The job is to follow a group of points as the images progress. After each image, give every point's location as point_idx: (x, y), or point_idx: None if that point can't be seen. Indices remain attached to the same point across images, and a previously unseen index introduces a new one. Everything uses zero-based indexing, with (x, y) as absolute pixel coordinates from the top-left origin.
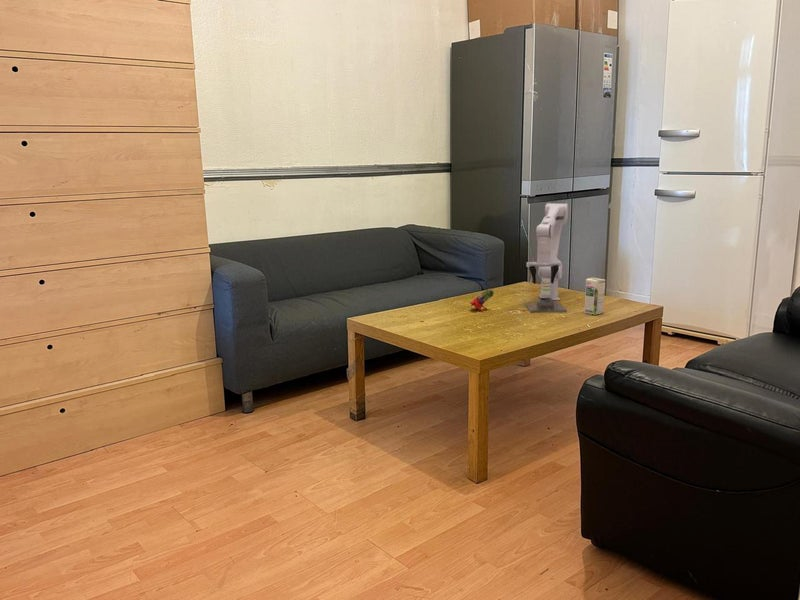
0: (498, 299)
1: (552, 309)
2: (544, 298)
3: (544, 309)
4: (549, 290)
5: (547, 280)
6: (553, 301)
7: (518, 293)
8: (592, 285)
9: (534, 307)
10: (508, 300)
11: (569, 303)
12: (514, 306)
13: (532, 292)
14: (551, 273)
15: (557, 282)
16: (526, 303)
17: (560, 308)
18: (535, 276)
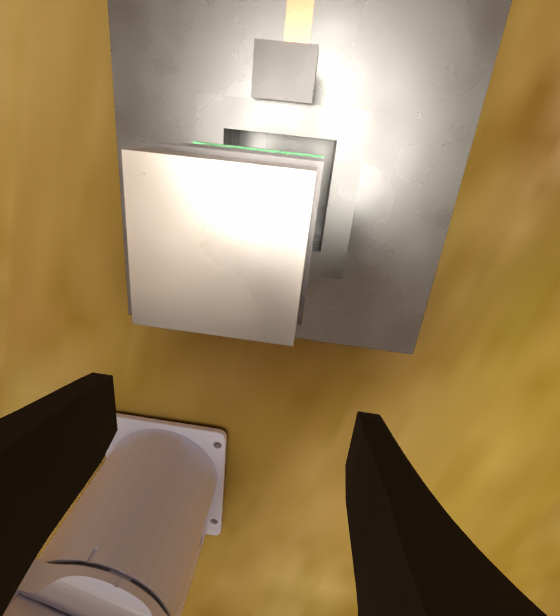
0: (517, 521)
1: (257, 2)
2: None
3: (344, 16)
4: (214, 144)
5: (203, 156)
6: (206, 95)
7: (316, 604)
8: None
9: (410, 142)
10: (462, 484)
11: (53, 315)
12: (520, 308)
13: (229, 601)
14: (14, 557)
15: (44, 550)
16: (412, 318)
17: (161, 44)
18: (392, 497)
